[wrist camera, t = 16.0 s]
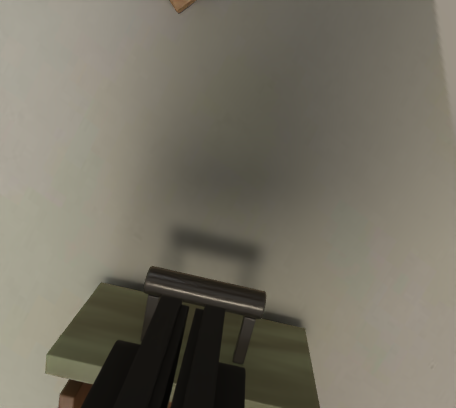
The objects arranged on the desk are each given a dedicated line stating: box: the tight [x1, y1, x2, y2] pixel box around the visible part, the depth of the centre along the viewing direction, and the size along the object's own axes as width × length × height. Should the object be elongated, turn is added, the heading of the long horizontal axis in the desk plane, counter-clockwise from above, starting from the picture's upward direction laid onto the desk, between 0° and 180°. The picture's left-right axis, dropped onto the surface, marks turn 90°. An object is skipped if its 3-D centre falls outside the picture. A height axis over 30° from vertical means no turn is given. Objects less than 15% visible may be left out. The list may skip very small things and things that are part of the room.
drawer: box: [45, 266, 320, 408], centre depth 23 cm, size 18×13×7 cm
